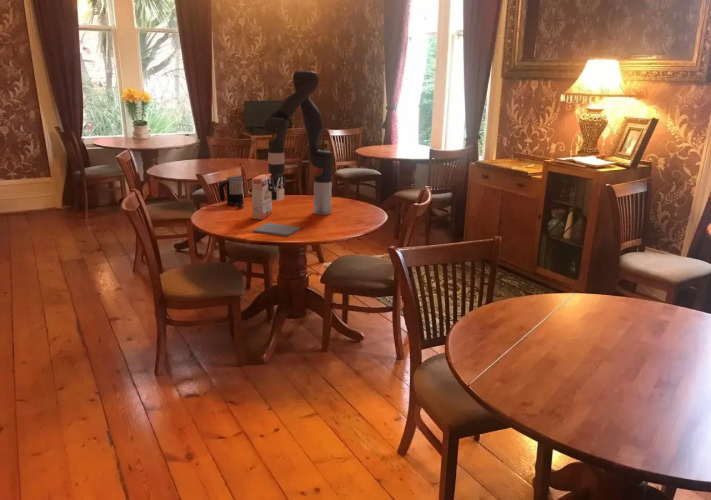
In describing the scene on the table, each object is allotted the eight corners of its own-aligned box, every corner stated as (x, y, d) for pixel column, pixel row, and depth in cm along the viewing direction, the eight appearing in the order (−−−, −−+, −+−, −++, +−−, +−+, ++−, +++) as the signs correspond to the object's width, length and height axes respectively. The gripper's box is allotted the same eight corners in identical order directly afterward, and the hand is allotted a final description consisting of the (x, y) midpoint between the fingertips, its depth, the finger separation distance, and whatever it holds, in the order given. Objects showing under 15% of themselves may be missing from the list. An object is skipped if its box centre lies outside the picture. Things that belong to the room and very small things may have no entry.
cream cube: (274, 197, 266) (274, 187, 264) (284, 199, 264) (284, 188, 263) (269, 200, 262) (269, 189, 260) (279, 201, 260) (279, 190, 258)
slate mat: (267, 224, 277) (267, 222, 276) (300, 229, 271) (300, 227, 271) (253, 231, 264) (253, 229, 264) (287, 236, 258) (287, 234, 258)
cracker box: (263, 220, 285) (262, 179, 278) (252, 219, 286) (250, 178, 279) (272, 213, 298) (272, 174, 291) (261, 212, 299) (261, 173, 292)
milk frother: (236, 201, 322) (235, 175, 318) (255, 205, 313) (255, 179, 309) (216, 205, 311) (215, 178, 307) (236, 210, 303) (235, 183, 298)
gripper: (276, 159, 265) (276, 194, 270) (261, 163, 252) (262, 200, 258) (290, 160, 263) (291, 196, 268) (276, 165, 250) (276, 202, 255)
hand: (276, 198), depth 263 cm, fingers closed on cream cube, 5 cm apart
